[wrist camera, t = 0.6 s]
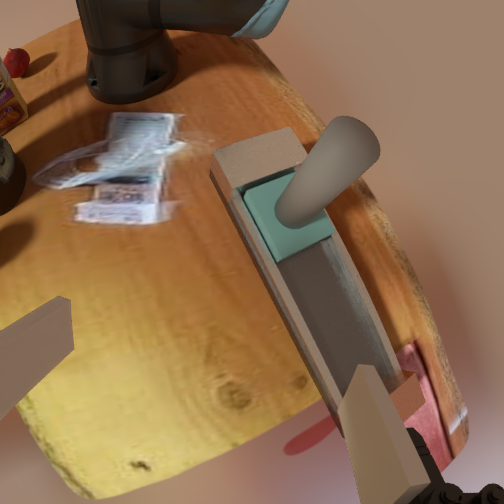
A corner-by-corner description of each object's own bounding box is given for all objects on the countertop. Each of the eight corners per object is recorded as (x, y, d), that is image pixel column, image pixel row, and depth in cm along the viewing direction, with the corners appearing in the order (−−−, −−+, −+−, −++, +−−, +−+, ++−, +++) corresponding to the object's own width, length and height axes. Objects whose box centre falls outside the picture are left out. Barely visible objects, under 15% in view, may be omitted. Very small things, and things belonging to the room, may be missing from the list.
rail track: (209, 175, 36) (212, 150, 30) (277, 151, 39) (289, 126, 33) (342, 437, 31) (365, 452, 26) (398, 394, 34) (425, 402, 28)
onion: (39, 63, 36) (27, 35, 28) (26, 83, 34) (11, 56, 26) (18, 67, 35) (6, 42, 27) (5, 88, 33) (-10, 62, 26)
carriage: (242, 201, 33) (282, 103, 17) (293, 181, 35) (357, 90, 19) (274, 264, 33) (348, 209, 16) (325, 238, 34) (416, 177, 18)
